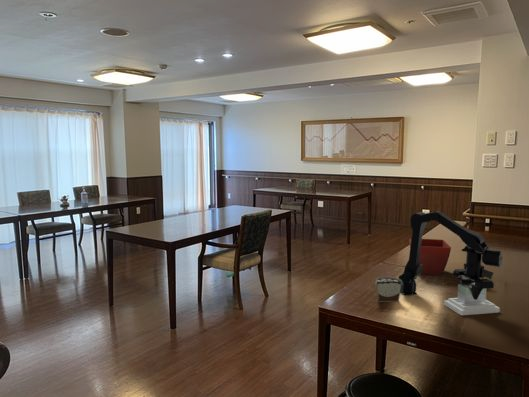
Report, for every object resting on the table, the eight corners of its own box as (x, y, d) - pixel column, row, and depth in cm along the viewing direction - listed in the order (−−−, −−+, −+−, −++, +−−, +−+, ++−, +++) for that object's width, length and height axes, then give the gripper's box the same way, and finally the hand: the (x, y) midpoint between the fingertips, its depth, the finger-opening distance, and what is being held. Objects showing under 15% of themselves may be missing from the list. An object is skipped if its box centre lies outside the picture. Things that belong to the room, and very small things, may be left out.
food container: (397, 296, 188) (397, 276, 186) (401, 301, 182) (402, 280, 180) (371, 296, 187) (371, 276, 186) (375, 301, 181) (375, 280, 180)
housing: (485, 302, 171) (486, 286, 170) (464, 303, 169) (465, 287, 168) (477, 297, 176) (478, 282, 175) (457, 299, 174) (458, 284, 173)
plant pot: (450, 277, 215) (451, 247, 213) (413, 275, 218) (414, 245, 216) (441, 267, 233) (443, 239, 231) (407, 265, 237) (408, 238, 235)
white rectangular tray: (461, 315, 166) (461, 308, 165) (443, 304, 177) (444, 297, 177) (499, 312, 169) (500, 305, 168) (479, 301, 180) (480, 295, 180)
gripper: (506, 267, 163) (504, 304, 165) (475, 255, 181) (473, 288, 183) (482, 269, 161) (480, 306, 163) (453, 257, 179) (451, 290, 181)
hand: (471, 297), depth 172 cm, fingers closed on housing, 5 cm apart
